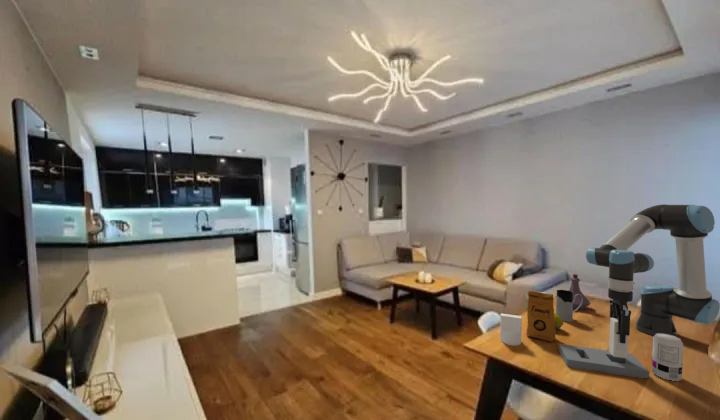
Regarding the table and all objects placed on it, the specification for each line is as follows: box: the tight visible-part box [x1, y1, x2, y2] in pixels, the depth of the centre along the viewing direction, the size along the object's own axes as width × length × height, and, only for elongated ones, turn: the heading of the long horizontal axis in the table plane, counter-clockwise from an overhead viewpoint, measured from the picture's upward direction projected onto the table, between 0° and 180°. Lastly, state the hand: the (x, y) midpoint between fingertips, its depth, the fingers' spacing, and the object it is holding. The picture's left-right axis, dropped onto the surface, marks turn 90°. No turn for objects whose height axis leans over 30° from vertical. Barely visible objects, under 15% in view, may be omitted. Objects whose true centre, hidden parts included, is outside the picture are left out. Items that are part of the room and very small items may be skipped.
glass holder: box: [555, 289, 583, 322], centre depth 176 cm, size 9×14×15 cm, turn 88°
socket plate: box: [558, 343, 650, 380], centre depth 129 cm, size 26×14×3 cm, turn 70°
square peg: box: [608, 317, 629, 358], centre depth 126 cm, size 4×4×14 cm
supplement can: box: [651, 333, 684, 382], centre depth 119 cm, size 8×8×15 cm
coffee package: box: [525, 290, 557, 343], centre depth 152 cm, size 10×12×22 cm
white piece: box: [499, 313, 523, 346], centre depth 149 cm, size 9×9×12 cm
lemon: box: [554, 312, 564, 330], centre depth 163 cm, size 11×8×8 cm
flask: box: [567, 273, 591, 311], centre depth 193 cm, size 16×16×20 cm
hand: (618, 347), depth 126 cm, fingers closed on square peg, 4 cm apart
